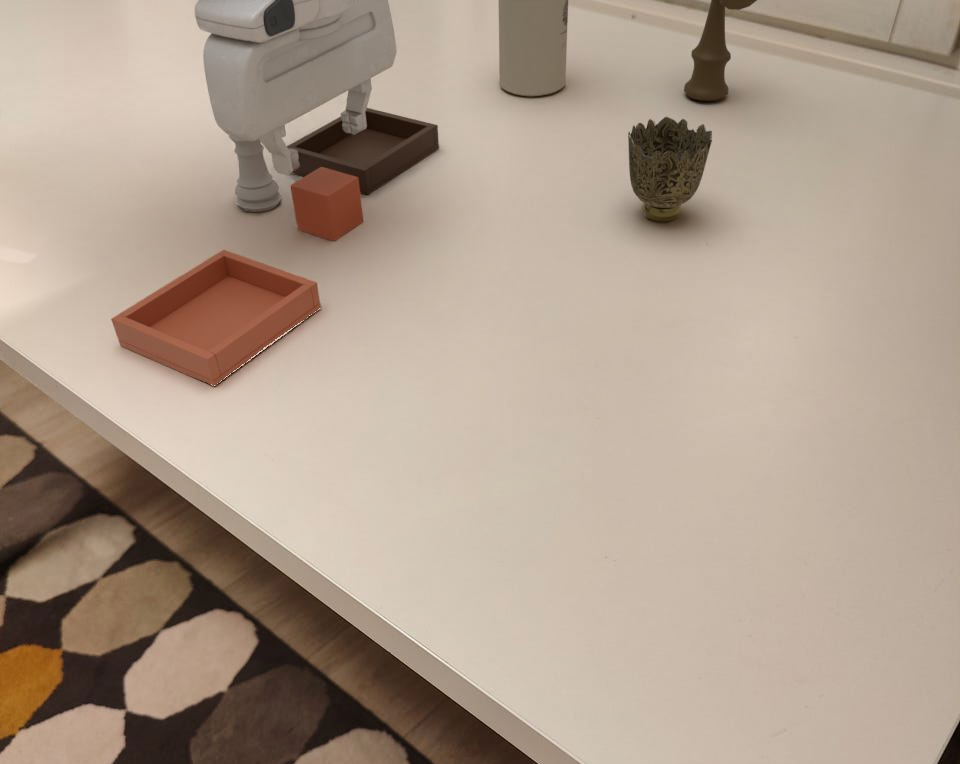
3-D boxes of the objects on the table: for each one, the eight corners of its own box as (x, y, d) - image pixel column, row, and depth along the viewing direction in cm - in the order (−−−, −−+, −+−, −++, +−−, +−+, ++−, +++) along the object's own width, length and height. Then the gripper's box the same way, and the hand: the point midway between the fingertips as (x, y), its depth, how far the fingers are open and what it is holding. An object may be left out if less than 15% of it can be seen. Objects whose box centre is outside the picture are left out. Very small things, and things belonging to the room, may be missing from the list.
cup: (605, 216, 90) (611, 134, 85) (653, 190, 94) (662, 109, 88) (668, 242, 86) (679, 158, 81) (716, 214, 90) (729, 131, 84)
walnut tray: (367, 195, 95) (364, 170, 93) (287, 171, 99) (283, 147, 97) (439, 148, 102) (437, 124, 100) (362, 128, 106) (359, 105, 105)
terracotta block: (334, 241, 88) (327, 196, 85) (297, 229, 90) (289, 185, 87) (363, 221, 91) (358, 176, 88) (327, 210, 92) (321, 166, 89)
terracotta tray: (214, 387, 72) (207, 359, 70) (120, 345, 76) (110, 318, 75) (321, 309, 80) (317, 282, 78) (229, 275, 84) (223, 249, 82)
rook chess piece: (257, 189, 96) (241, 110, 91) (291, 198, 94) (277, 119, 89) (227, 207, 93) (209, 127, 88) (262, 217, 92) (246, 137, 86)
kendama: (702, 115, 107) (729, -86, 93) (663, 85, 114) (684, -107, 100) (749, 107, 108) (783, -93, 94) (708, 78, 115) (734, -113, 101)
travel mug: (490, 94, 113) (487, -77, 100) (510, 70, 118) (510, -94, 106) (555, 101, 111) (560, -72, 98) (572, 76, 116) (579, -91, 104)
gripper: (347, -54, 83) (366, 103, 93) (176, 14, 71) (218, 187, 80) (405, -45, 81) (418, 116, 90) (238, 26, 68) (273, 204, 78)
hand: (322, 150), depth 85 cm, fingers open, 8 cm apart
